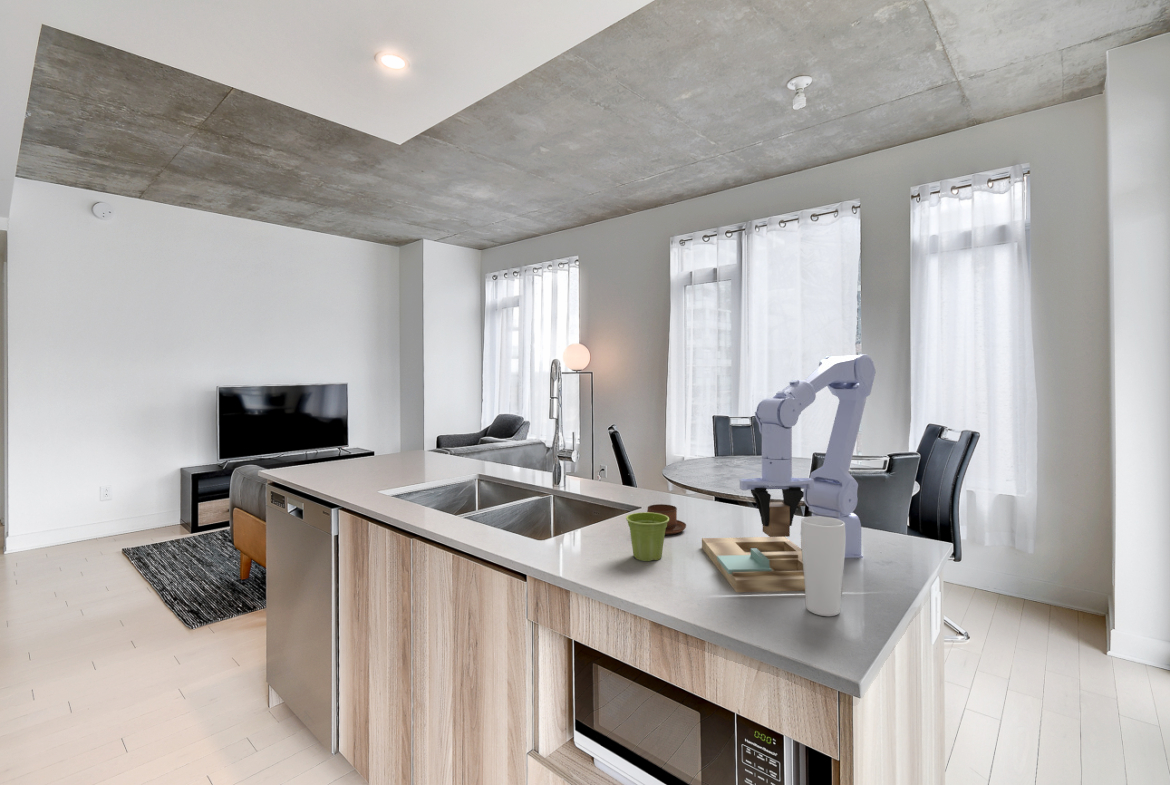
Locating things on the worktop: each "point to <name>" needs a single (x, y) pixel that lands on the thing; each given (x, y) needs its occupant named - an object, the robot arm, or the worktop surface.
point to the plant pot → (647, 534)
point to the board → (780, 578)
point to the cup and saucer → (671, 512)
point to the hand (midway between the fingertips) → (776, 524)
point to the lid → (745, 562)
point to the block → (778, 520)
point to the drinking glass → (823, 563)
